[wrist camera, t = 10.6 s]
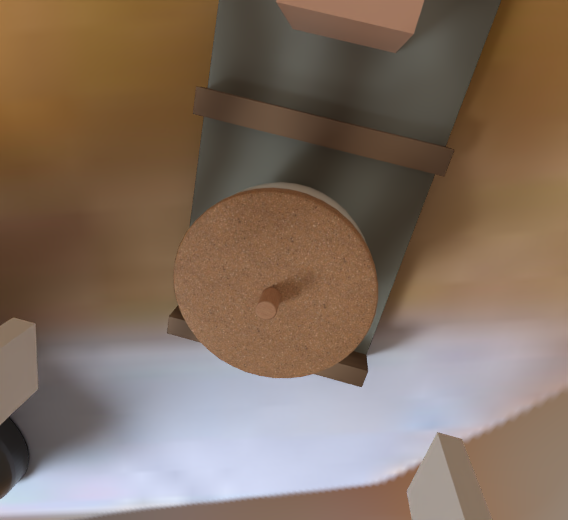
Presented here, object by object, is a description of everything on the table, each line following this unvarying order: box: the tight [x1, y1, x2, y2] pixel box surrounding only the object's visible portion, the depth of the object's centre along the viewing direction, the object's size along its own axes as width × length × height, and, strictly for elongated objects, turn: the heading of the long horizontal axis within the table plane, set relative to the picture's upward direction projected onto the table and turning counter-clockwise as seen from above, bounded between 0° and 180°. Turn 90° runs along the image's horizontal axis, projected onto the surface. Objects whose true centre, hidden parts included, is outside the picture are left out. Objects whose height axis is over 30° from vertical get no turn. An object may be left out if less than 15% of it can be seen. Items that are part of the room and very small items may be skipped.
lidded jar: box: [174, 182, 378, 378], centre depth 22 cm, size 11×11×9 cm
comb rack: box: [167, 0, 501, 387], centre depth 23 cm, size 15×33×4 cm, turn 167°
